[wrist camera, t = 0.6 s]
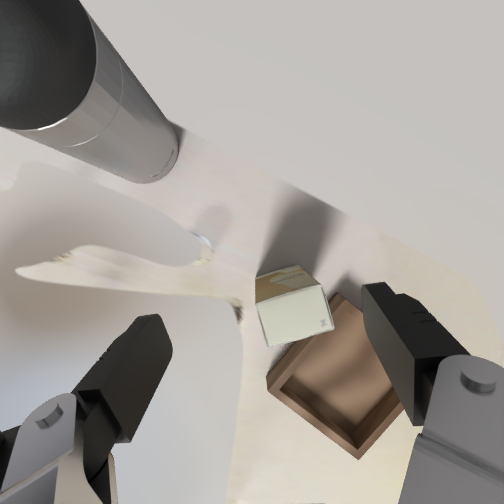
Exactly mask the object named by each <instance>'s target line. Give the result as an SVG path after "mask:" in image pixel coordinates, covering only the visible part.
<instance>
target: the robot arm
mask: <svg viewBox="0 0 504 504" xmlns="http://www.w3.org/2000/svg"><path fill="white" fill-rule="evenodd" d="M0 127H3V128H5V129H7V130H10V131H12V132H14V133H17V134H19V135H22V136H24V137H26V138H29V139H31V140H34V141H36V142H39V143H41V144H44V145H46V146H48V147H51V148H53V149H55V150H58V151H60V152H63V153H65V154H67V155H70V156H72V157H74V158H77V159H79V160H82V161H84V162H86V163H89V164H91V165H93V166H96V167H98V168H101V169H103V170H105V171H108V172H110V173H112V174H114V175H117V176H119V177H122V178H124V179H126V180H129V181H132V182H135V183H151V182H154V181H157V180H160V179H161V178H162V177H164V176H165V175H167V173H168V172H169V171H170V170H171V169H172V167H173V166H174V164H175V162H176V159H177V155H178V139H177V136H176V133H175V131H174V129H173V127H172V125H171V124H170V123H169V121H168V120H167V119H166V117H165V116H164V114H163V113H162V112H161V110H160V109H159V107H158V106H157V105H156V104H155V102H154V101H153V99H152V98H151V97H150V95H149V94H148V93H147V91H146V90H145V89H144V87H143V86H142V85H141V83H140V82H139V80H138V79H137V78H136V76H135V75H134V74H133V72H132V71H131V70H130V68H129V67H128V66H127V64H126V63H125V62H124V60H123V59H122V57H121V56H120V55H119V53H118V52H117V51H116V50H115V48H114V47H113V45H112V44H111V43H110V41H109V40H108V39H107V38H106V36H105V35H104V34H103V32H102V31H101V29H100V28H99V27H98V25H97V24H96V23H95V21H94V20H93V19H92V18H91V16H90V15H89V14H88V12H87V11H86V10H85V8H84V7H83V5H82V4H81V3H80V1H79V0H0ZM361 292H362V306H363V321H364V326H365V330H366V333H367V336H368V338H369V340H370V342H371V344H372V346H373V348H374V350H375V352H376V354H377V356H378V358H379V360H380V362H381V364H382V366H383V368H384V370H385V372H386V374H387V376H388V378H389V380H390V382H391V384H392V386H393V387H394V389H395V391H396V393H397V395H398V397H399V399H400V401H401V403H402V405H403V407H404V409H405V411H406V413H407V415H408V417H409V419H410V421H411V423H412V425H413V426H424V427H423V430H422V433H421V434H420V433H418V435H417V437H416V440H415V443H414V446H413V450H412V454H411V457H410V461H409V465H408V469H407V472H406V476H405V480H404V484H403V487H402V491H401V495H400V499H399V502H398V504H504V368H503V367H501V366H499V365H497V364H495V363H494V362H491V361H489V360H486V359H483V358H480V357H476V356H471V355H470V353H469V352H468V351H467V350H466V349H465V348H464V347H463V346H462V345H461V344H460V343H459V342H458V341H457V340H456V339H455V338H454V337H453V336H452V335H451V334H450V333H449V332H448V331H447V330H446V329H445V328H444V327H443V326H442V325H441V324H440V323H439V322H437V320H436V318H435V317H434V316H433V315H432V314H431V313H429V312H428V310H427V309H426V308H425V307H424V306H423V305H422V304H421V303H420V302H419V301H418V300H416V299H414V298H412V297H410V296H408V295H406V294H404V293H403V294H395V293H394V292H393V291H392V289H391V288H390V287H389V286H388V285H387V284H386V283H385V282H379V283H372V284H365V285H362V288H361ZM172 352H173V348H172V343H171V340H170V338H169V336H168V333H167V331H166V328H165V326H164V323H163V321H162V318H161V317H160V316H159V315H158V314H151V315H144V316H139V317H137V318H136V319H135V321H134V322H133V323H132V324H131V325H130V327H129V328H128V329H127V330H126V331H125V332H124V333H123V334H122V335H120V336H119V337H118V338H116V339H115V340H114V341H113V343H112V344H111V345H110V346H109V347H108V349H107V351H106V352H104V354H103V355H102V356H101V357H100V358H99V361H97V362H96V363H95V364H94V365H93V367H92V368H91V369H90V370H89V371H88V373H87V374H86V375H85V376H84V377H83V379H82V380H81V381H80V382H79V383H78V385H77V386H76V387H75V388H74V389H73V391H72V392H71V393H65V394H61V395H58V396H56V397H54V398H52V399H50V400H48V401H46V402H45V403H43V404H42V405H41V406H39V407H38V408H37V409H36V410H34V411H33V412H32V413H31V414H30V415H29V416H28V417H27V418H26V419H25V421H24V422H23V423H22V425H20V426H17V427H14V428H12V429H9V430H6V431H4V432H1V431H0V504H118V497H117V488H116V487H117V486H116V476H115V465H114V457H113V455H112V453H111V452H110V451H111V449H112V447H113V446H114V444H115V443H130V442H131V440H132V438H133V436H134V434H135V432H136V430H137V428H138V426H139V424H140V422H141V420H142V418H143V416H144V414H145V411H146V409H147V408H148V405H149V403H150V401H151V399H152V397H153V395H154V393H155V391H156V389H157V387H158V385H159V383H160V381H161V379H162V377H163V375H164V372H165V370H166V369H167V366H168V364H169V362H170V360H171V358H172Z"/></svg>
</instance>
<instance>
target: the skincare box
mask: <svg viewBox="0 0 504 504" xmlns="http://www.w3.org/2000/svg"><path fill="white" fill-rule="evenodd" d="M255 305H256V309H257V313H258V317H259V321H260V325H261V328H262V332H263V335H264V338H265V342H266V345H267V347H269V348H271V347H275V346H279V345H282V344H286V343H289V342H293V341H297V340H300V339H304V338H307V337H310V336H313V335H317V334H320V333H323V332H327V331H330V330H333V329H334V324H333V320H332V316H331V312H330V309H329V305H328V302H327V299H326V295H325V292H324V289H323V286H322V285H321V284H320V283H319V282H318V281H317V280H315V279H314V278H313V277H312V276H311V275H310V274H309V273H307V272H306V271H305V270H304V269H303V268H302V267H300V266H299V265H295V266H290V267H287V268H283V269H280V270H276V271H273V272H270V273H267V274H264V275H261V276H258V277H256V278H255Z"/></svg>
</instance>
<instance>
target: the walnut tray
mask: <svg viewBox="0 0 504 504" xmlns="http://www.w3.org/2000/svg"><path fill="white" fill-rule="evenodd" d="M328 305H329V309H330V312H331V316H332V320H333V324H334V329H333V330H330V331H327V332H323V333H320V334H317V335H313V336H310V337H307V338H304V339H300V340H297V341H295V343H294V344H293V345H292V346H291V347H290V349H289V350H288V351H287V352H286V353H285V355H284V356H283V357H282V358H281V359H280V361H279V362H278V363H277V364H276V365H275V367H274V368H273V369H272V370H271V371H270V373H269V374H268V375H267V376H266V380H267V389H268V392H269V393H271V394H272V395H273V396H275V397H276V398H277V399H279V400H280V401H281V402H283V403H284V404H285V405H287V406H288V407H289V408H290V409H292V410H293V411H294V412H296V413H297V414H298V415H300V416H301V417H302V418H304V419H305V420H306V421H308V422H309V423H310V424H312V425H313V426H314V427H315V428H317V429H318V430H319V431H321V432H322V433H323V434H325V435H326V436H327V437H329V438H330V439H331V440H333V441H334V442H335V443H337V444H338V445H339V446H340V447H342V448H343V449H344V450H346V451H347V452H348V453H350V454H351V455H352V456H354V457H355V458H356V459H358V460H359V459H360V458H361V457H362V456H363V455H364V454H365V453H366V451H367V450H368V449H369V448H370V447H371V446H372V445H373V444H374V442H375V441H376V440H377V439H378V438H379V437H380V436H381V435H382V433H383V432H384V431H385V430H386V429H387V428H388V427H389V426H390V424H391V423H392V422H393V421H394V420H395V419H396V418H397V417H398V415H399V414H400V413H401V412H402V411H403V410H404V407H403V405H402V403H401V401H400V399H399V397H398V395H397V393H396V391H395V389H394V387H393V386H392V384H391V382H390V380H389V378H388V376H387V374H386V372H385V370H384V368H383V366H382V364H381V362H380V360H379V358H378V356H377V354H376V352H375V350H374V348H373V346H372V344H371V342H370V340H369V338H368V336H367V333H366V330H365V326H364V321H363V313H362V312H361V311H360V310H358V309H357V308H356V307H355V306H353V305H352V304H351V303H350V302H348V301H347V300H346V299H345V298H343V297H342V296H340V295H339V294H338V293H336V294H335V295H334V296H333V297H332V298H331V300H330V301H329V302H328Z"/></svg>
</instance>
